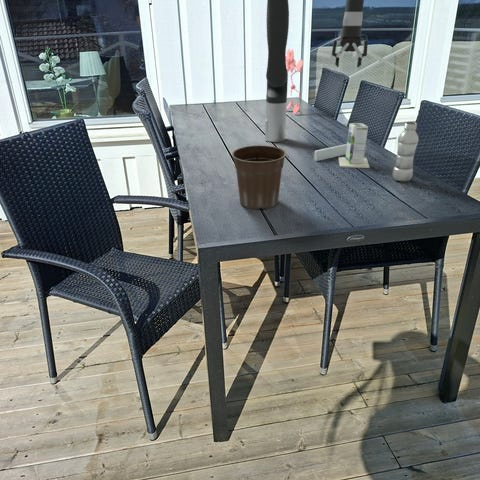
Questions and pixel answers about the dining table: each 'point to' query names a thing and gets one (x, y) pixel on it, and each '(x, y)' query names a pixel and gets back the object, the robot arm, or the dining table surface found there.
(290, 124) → the dining table surface
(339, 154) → the low wall
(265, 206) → the plant pot
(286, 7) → the robot arm
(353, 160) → the syrup box
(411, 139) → the plastic bottle
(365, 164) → the resting pad
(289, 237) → the dining table surface
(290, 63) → the figurine
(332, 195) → the dining table surface
